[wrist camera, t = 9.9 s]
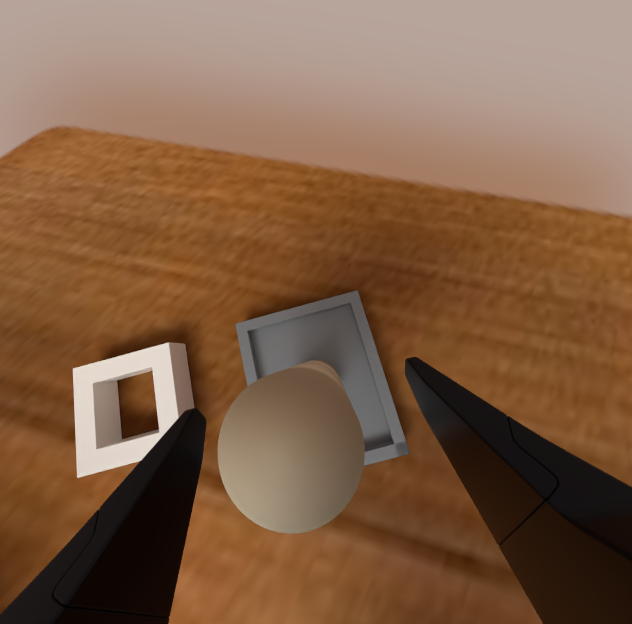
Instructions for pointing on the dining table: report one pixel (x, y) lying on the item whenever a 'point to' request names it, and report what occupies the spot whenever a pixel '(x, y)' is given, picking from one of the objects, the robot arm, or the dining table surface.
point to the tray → (329, 361)
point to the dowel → (292, 449)
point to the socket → (104, 413)
